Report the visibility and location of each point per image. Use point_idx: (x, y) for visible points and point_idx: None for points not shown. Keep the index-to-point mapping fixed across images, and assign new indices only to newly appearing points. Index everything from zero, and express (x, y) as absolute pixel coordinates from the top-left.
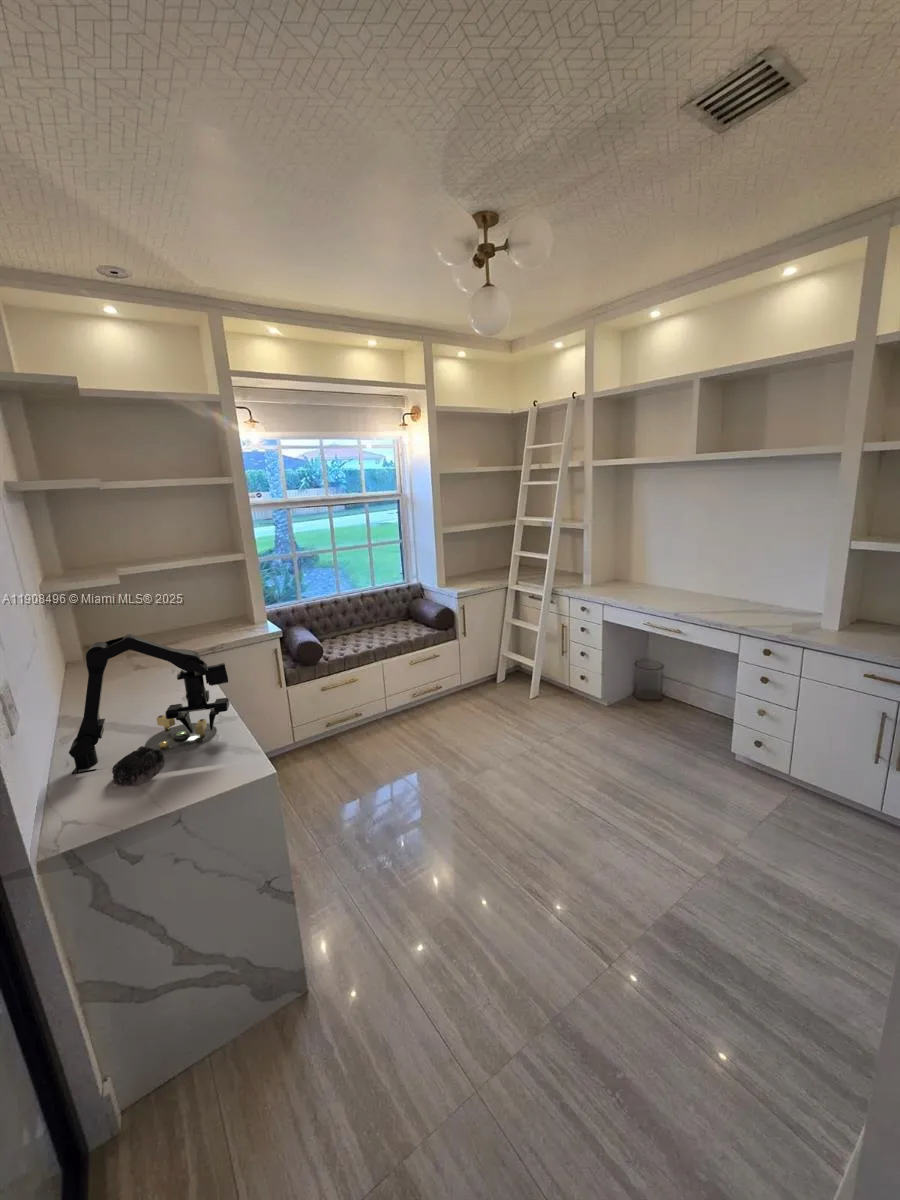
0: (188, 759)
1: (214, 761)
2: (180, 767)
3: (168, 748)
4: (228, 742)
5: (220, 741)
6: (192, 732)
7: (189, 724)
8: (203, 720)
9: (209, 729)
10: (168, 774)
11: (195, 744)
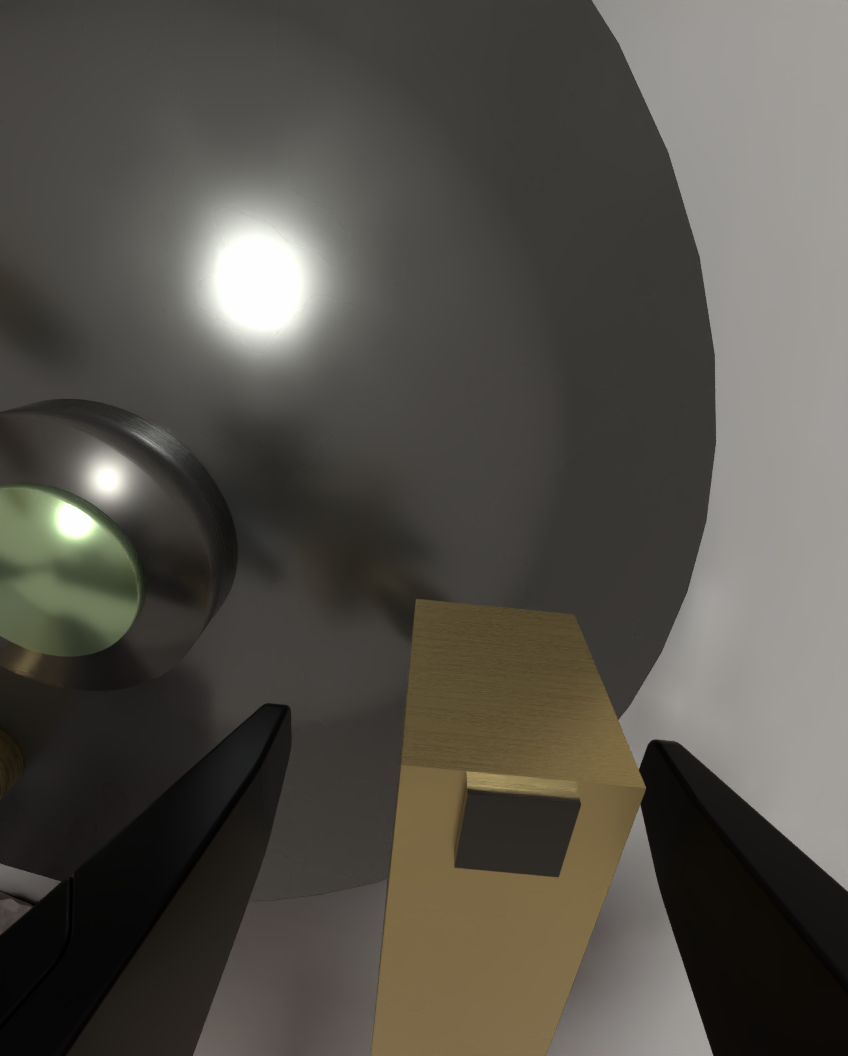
0: (345, 930)
1: (577, 1020)
2: (302, 1001)
3: (40, 773)
4: (768, 793)
5: (682, 735)
6: (290, 733)
7: (183, 1031)
8: (565, 865)
9: (577, 389)
10: (232, 1040)
11: (380, 808)
